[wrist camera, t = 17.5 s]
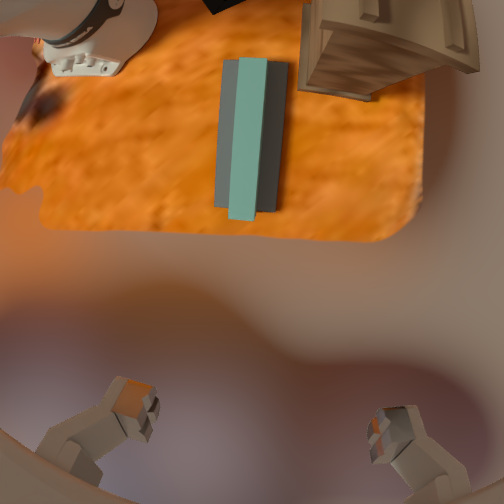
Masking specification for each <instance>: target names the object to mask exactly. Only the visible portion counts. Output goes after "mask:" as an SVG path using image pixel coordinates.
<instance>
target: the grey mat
mask: <svg viewBox="0 0 504 504" xmlns="http://www.w3.org/2000/svg"><path fill="white" fill-rule="evenodd" d="M238 68H239V60H224V61H223V72H222V84H221V96H220V109H219V124H218V140H217V157H216V177H215V201H214V207H223V208H229V193H230V176H231V160H232V145H233V131H234V117H235V104H236V92H237V80H238ZM287 76H288V63H284V62H272V61H268V77H267V89H266V101H265V113H264V125H263V137H262V149H261V162H260V174H259V186H258V198H257V210H256V211H266V212H275V211H276V201H277V191H278V180H279V170H280V159H281V148H282V137H283V125H284V114H285V102H286V89H287Z"/></svg>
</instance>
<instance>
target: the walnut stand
mask: <svg viewBox="0 0 504 504" xmlns="http://www.w3.org/2000/svg"><path fill="white" fill-rule="evenodd" d="M444 65H449V66H451V67H453V68H456V69H458V70H460V71H462V72H464V73H466V74H469V73H474V72H479V71H480V65H479V49H478V39H477V31H476V23H475V17H474V11H473V5H472V0H312V2H311V4H307V3H303V9H302V28H301V45H300V60H299V74H298V88H297V91H304V92H312V93H319V94H326V95H332V96H338V97H343V98H349V99H354V100H359V101H363V102H368V101H371V93H372V92H374V91H377V90H379V89H382V88H384V87H387V86H389V85H392V84H394V83H397V82H399V81H402V80H404V79H407V78H410V77H412V76H415V75H418V74H421V73H424V72H426V71H429V70H432V69H435V68H438V67H441V66H444Z"/></svg>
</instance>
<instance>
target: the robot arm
mask: <svg viewBox="0 0 504 504" xmlns="http://www.w3.org/2000/svg"><path fill="white" fill-rule="evenodd" d="M157 17H158V10H157V6H156V3H155V2H154V0H0V37H4V36H27V37H35V40H34V43H35V42H36V39H37V42H38V44H39V43H40V39H42V40H43V41H44V48H43V52H44V58H45V60H46V62H48V63H51V66H52V71H53V74H54V76H57V77H74V76H103V77H112V76H115V75H116V74H117V73H118V72H119V71H120V69H121V68H122V66H123V65H124V63H125V62H126V60H127V59H129V58H130V57H131V56H132V55H134V54H135V53H136V52H137V51H138V50H139V49H140V48H141V47H142V46H143V45H144V44H145V43H146V42H147V40H148V39H149V37H150V36H151V34H152V32H153V30H154V28H155V25H156V22H157ZM106 68H107V70H106ZM105 70H106V71H105ZM156 394H157V390H156V387H155V386H150V385H147V384H143V383H140V382H136V381H133V380H130V379H127V378H123V377H120V376H117V377H116V378H115V379H114V381H113V382H112V384H111V386H110V387H109V389H108V391H107V392H106V394H105V396H104V397H103V399H102V401H101V403H100V404H99V406H93V407H91V408H89V409H87V410H85V411H83V412H81V413H79V414H77V415H75V416H73V417H71V418H69V419H67V420H65V421H64V422H61V423H59V424H57V425H55V426H53V427H51V428H49V430H48V431H47V433H46V435H45V436H44V438H43V440H42V441H41V443H40V445H39V446H38V448H37V450H36V452H35V453H34V452H32V451H31V450H30V449H28V448H27V447H25V446H24V445H22V444H21V443H20V442H18V441H17V440H15V439H14V438H13V437H11V436H10V435H9V434H7V433H6V432H5V431H3V430H2V429H1V428H0V504H139V503H136V502H133V501H131V500H128V499H125V498H122V497H120V496H117V495H115V494H112V493H110V492H108V491H105V490H103V489H100V488H98V486H99V483H100V481H101V478H102V476H103V472H102V470H101V469H100V468H99V467H98V466H97V465H96V464H95V463H94V462H95V461H97V460H98V459H100V458H101V457H103V456H104V455H105V454H107V453H108V452H110V451H111V450H113V449H114V448H115V447H117V446H118V445H119V444H121V443H122V442H124V441H125V440H126V439H127V438H130V439H134V440H137V441H141V442H144V443H148V442H149V439H150V436H151V434H152V432H153V429H152V426H151V424H153V423H154V422H156V421H157V419H158V416H159V412H160V401H159V399H158V398H157V397H156ZM367 439H368V442H369V443H370V444H371V445H372V447H371V449H370V450H369V451H370V458H371V464H382V463H391V465H392V466H393V467H394V468H395V469H396V471H397V472H398V473H399V474H400V475H401V477H402V478H403V479H404V480H405V482H406V483H407V484H408V485H409V487H410V488H411V489H412V490H413V491H414V494H413V495H411V496H409V497H408V498H406V499H405V501H404V504H504V478H502V479H500V480H498V481H496V482H494V483H492V484H490V485H488V486H486V487H484V488H482V489H479V490H477V491H475V492H473V493H472V490H471V486H470V482H469V478H468V475H467V472H466V468H465V467H464V466H463V465H462V464H461V463H460V462H459V461H457V460H456V459H455V458H454V457H453V456H451V455H450V454H449V453H448V452H447V451H445V450H444V449H443V448H442V447H441V446H440V445H439V444H438V443H437V442H435V441H434V440H433V439H432V438H430V437H429V438H427V435H426V431H425V428H424V425H423V422H422V419H421V416H420V413H419V411H418V408H417V406H415V405H411V406H397V407H387V408H380V409H378V411H377V412H376V417H375V418H374V419H372V420H371V422H370V423H369V425H368V429H367Z"/></svg>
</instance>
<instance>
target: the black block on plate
mask: <svg viewBox="0 0 504 504" xmlns="http://www.w3.org/2000/svg"><path fill="white" fill-rule="evenodd" d="M202 1H203V2H204V3H205V5H206V6H207V8H208V9H209V10H210V12H211V13H212V15H215V14H217V13H219V12H221V11H223V10H225V9H227V8H230V7H232V6H234V5H236V4H239V3H241V2H243V1H246V0H202Z"/></svg>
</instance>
